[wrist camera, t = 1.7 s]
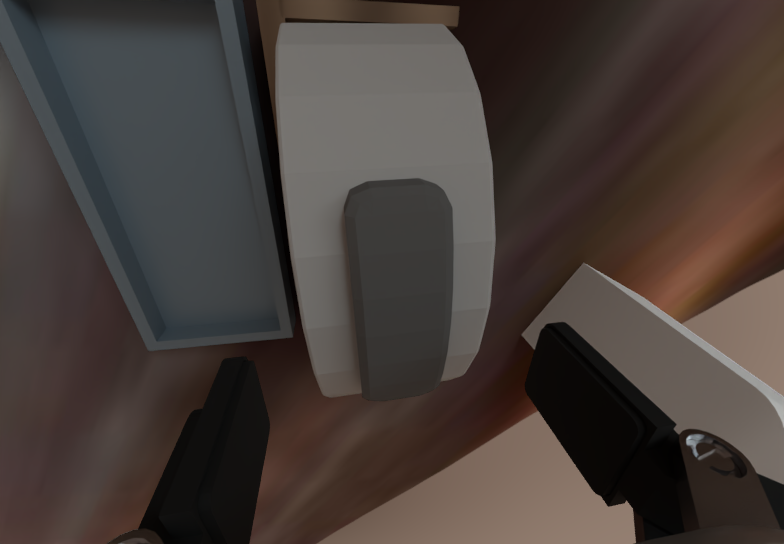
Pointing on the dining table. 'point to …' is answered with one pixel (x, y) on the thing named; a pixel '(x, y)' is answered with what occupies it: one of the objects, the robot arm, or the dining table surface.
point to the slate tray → (162, 158)
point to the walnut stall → (340, 21)
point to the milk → (672, 367)
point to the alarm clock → (385, 203)
